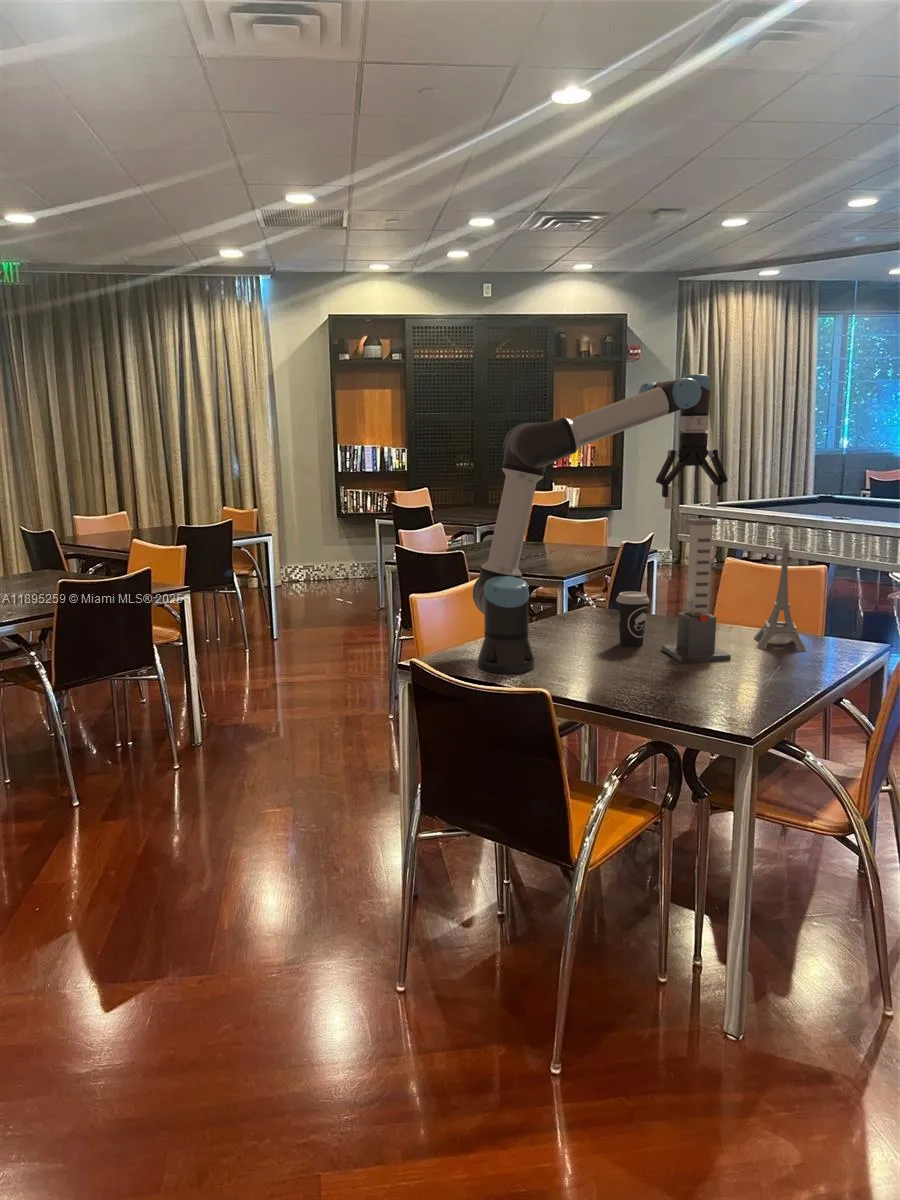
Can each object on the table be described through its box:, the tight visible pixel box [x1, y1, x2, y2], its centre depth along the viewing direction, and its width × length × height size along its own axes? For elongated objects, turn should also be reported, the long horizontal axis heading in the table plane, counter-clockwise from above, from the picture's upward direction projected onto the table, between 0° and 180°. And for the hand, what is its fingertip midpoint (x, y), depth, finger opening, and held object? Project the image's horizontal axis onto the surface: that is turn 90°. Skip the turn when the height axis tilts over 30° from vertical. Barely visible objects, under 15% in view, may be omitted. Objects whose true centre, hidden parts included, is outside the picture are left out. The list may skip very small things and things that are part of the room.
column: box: [685, 517, 718, 618], centre depth 223 cm, size 6×6×27 cm
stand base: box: [660, 611, 732, 664], centre depth 226 cm, size 14×14×12 cm
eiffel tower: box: [753, 542, 808, 652], centre depth 235 cm, size 13×13×30 cm
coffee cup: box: [615, 591, 650, 648], centre depth 239 cm, size 10×10×15 cm
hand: (690, 508), depth 232 cm, fingers open, 13 cm apart
